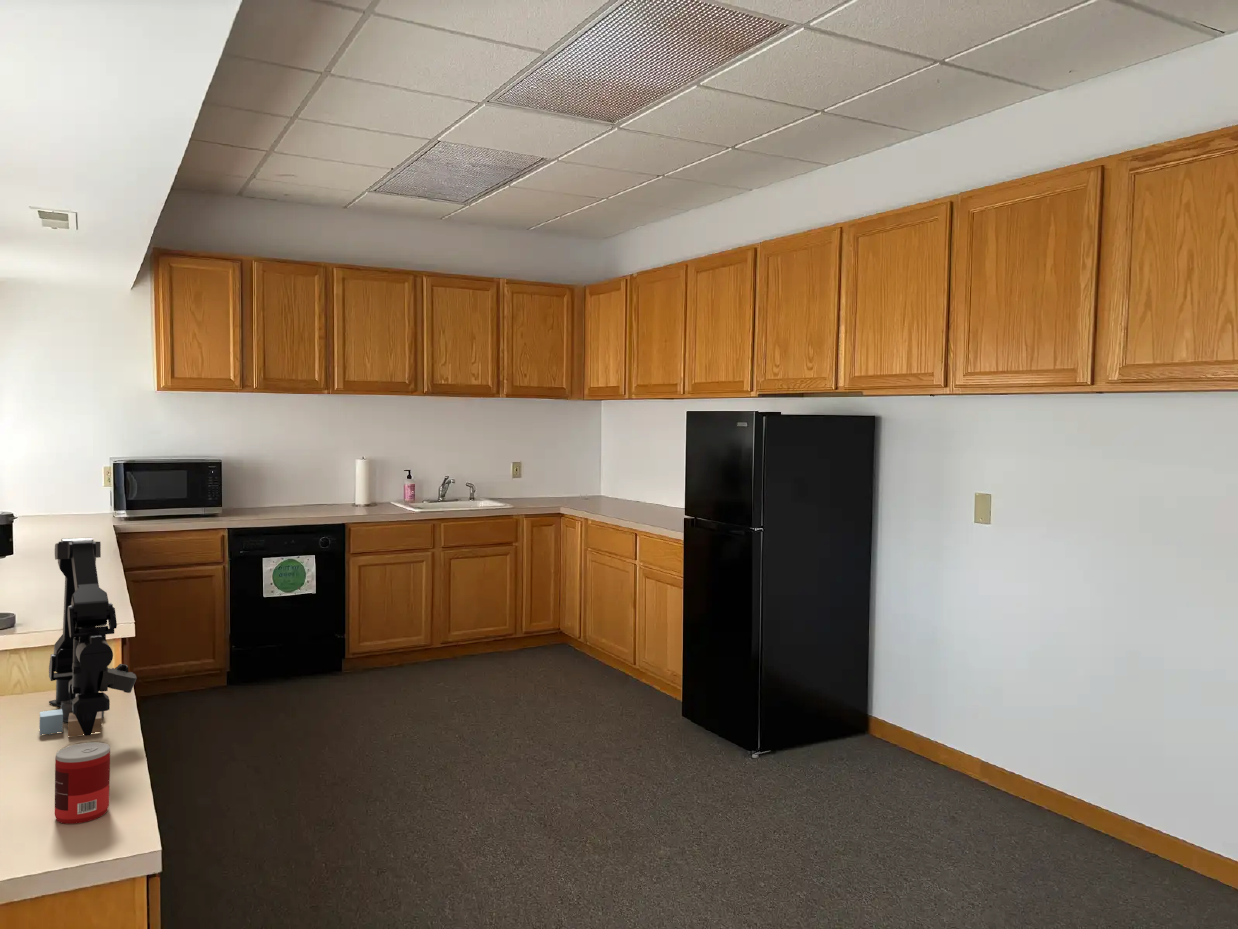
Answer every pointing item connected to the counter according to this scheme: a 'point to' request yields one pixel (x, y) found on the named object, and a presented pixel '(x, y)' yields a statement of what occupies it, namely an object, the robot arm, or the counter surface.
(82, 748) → the canned food
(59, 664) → the robot arm
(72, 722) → the brown square block
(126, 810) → the counter surface
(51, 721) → the block
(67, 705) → the block
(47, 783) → the counter surface
